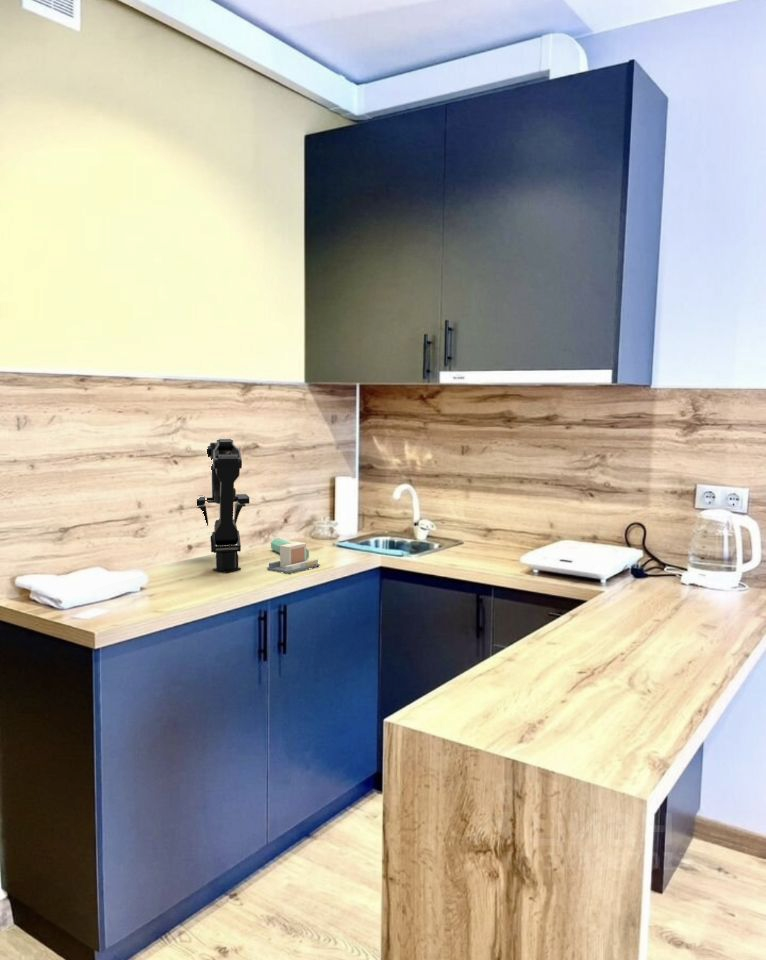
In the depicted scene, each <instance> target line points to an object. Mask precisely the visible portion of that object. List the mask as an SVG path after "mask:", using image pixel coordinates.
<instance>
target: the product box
mask: <svg viewBox="0 0 766 960" xmlns="http://www.w3.org/2000/svg"><path fill="white" fill-rule="evenodd" d="M306 549H307V543H305V542H298V541H296V542H290V544H285V545H281V546H280V553H279V561H280V567H282V568H285V566H288V565H292V564H296V563H300V562H304V561H307V560H306Z"/></svg>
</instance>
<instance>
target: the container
mask: <svg viewBox="0 0 766 960" xmlns="http://www.w3.org/2000/svg"><path fill="white" fill-rule="evenodd" d="M290 543H291V542H290V541H288V540H285V539H282V538H274V539H273V540H272V541H271V542H270V549H271V550H272V551H274V552H276V553H278V554H280V546H281V545H285V544H290ZM309 558H310V550H308V548H306V561H308V560H309Z"/></svg>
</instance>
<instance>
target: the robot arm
mask: <svg viewBox="0 0 766 960" xmlns="http://www.w3.org/2000/svg"><path fill="white" fill-rule="evenodd" d="M207 448H208V449H207ZM207 448H206V449H207V454H208V457H210V458H211V460H212V459H213V464H212V466H211V470H212V474H211V497H205V496H204V497H200V498H199V499H197V506H199V507H198V508H197V509H200V510H202V511H204V512H203V513H202V515H203V514H204V516H205V519H204V521H205V520H206V522H205V524H206V523H207V525H206V526H207V527H208V526H209V518H208V513H207V506H206V503H205V501H207V502H208V503H207V504H211V503H212V504H216V505H217V504H218V505H219V519H215V521H214V528H213V529H214V531H212V532H211V535H210V537H209V539H210V551H211V553H214V554H215V564H216V565H215V567H214V568H212V571H216V572H221V573H226V574H227V573H231V572H234V571H239V570H241V569H242V568H241V567H239V554H238V552H239V553H241V551H242V549H241V548H242V547H241V546H242V545H241V538H240V531H239V530H238V527H237V521H238V518H239V515H240V513H241V511H242V508H243V507H246V505H248V504H250V496H249V495H248V494H246V493H240V494H239V493H237V492H236V488H235V482H236V481H237V480H238V478H240V477H239V476H240V474H241V472H240V470H241V469H242V467H243V461H242V452H241V450H240V449H239V448H238V447H237V446H236V445H235V444H234V440H233V439H231V438H219V439H216V442H210V443H209V445H208V446H207ZM205 498H207V500H205ZM202 511H201V512H202ZM204 516H203V517H204Z"/></svg>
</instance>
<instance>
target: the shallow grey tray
mask: <svg viewBox="0 0 766 960" xmlns="http://www.w3.org/2000/svg"><path fill="white" fill-rule="evenodd" d="M318 561H319V559H318V558H312V559H308V560H306V561H304V562H300V563H296V564H292V565H288V566H285V568H282V567H280V560H277V561H273V562H269V563H268V567H266V570H267V569H268V570H267V571H270V570H273V571H272V572H275V571H277V572H276V573H281V572H283V573H282V574H286V573H288V574H287V575H292V574H291V573H293V574H296V573H295V572H297V573H299V572H298V571H300V572H303V571H302V570H304V571H307V570H306V569H308V570H310V569H309V568H312V569H314V568H313V567H316V568H318V567H317V566H320V567H321V565H320V563H319V562H318Z"/></svg>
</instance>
